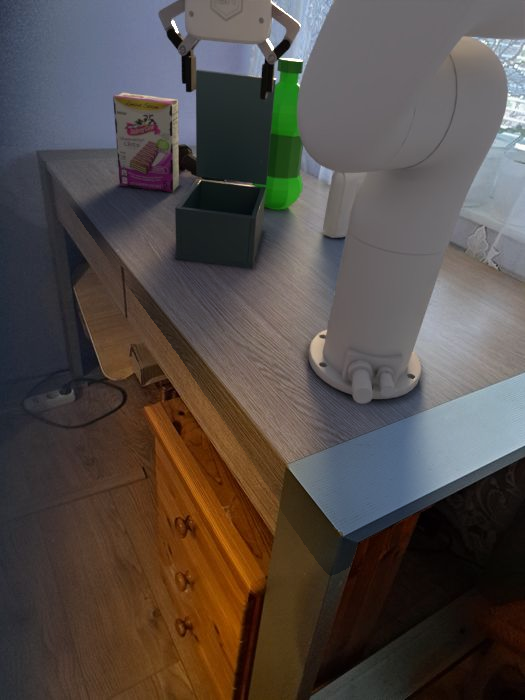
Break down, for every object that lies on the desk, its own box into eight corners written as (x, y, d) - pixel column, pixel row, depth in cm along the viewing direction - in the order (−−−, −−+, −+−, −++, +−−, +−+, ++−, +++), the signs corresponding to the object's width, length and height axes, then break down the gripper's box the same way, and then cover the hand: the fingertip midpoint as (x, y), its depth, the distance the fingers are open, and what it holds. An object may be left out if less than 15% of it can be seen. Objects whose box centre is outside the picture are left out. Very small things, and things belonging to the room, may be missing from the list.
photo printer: (360, 224, 91) (374, 156, 84) (376, 232, 89) (392, 163, 82) (318, 232, 86) (330, 160, 79) (333, 241, 84) (347, 167, 76)
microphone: (235, 203, 103) (179, 167, 113) (244, 177, 101) (187, 142, 110) (217, 200, 99) (160, 162, 109) (227, 173, 97) (168, 137, 106)
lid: (275, 79, 69) (278, 72, 74) (195, 70, 70) (203, 63, 74) (266, 185, 79) (269, 173, 83) (196, 176, 79) (203, 165, 84)
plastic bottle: (305, 215, 93) (326, 65, 78) (250, 212, 92) (261, 59, 77) (298, 198, 101) (316, 59, 86) (248, 195, 100) (258, 53, 85)
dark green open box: (252, 268, 72) (256, 218, 68) (175, 258, 73) (175, 208, 68) (262, 231, 84) (266, 187, 80) (196, 223, 85) (196, 178, 80)
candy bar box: (118, 186, 97) (111, 95, 87) (127, 179, 101) (120, 91, 91) (173, 193, 96) (172, 102, 87) (179, 186, 100) (178, 98, 91)
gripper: (146, -92, 51) (154, 91, 60) (309, -78, 50) (291, 105, 60) (164, -79, 57) (169, 85, 67) (311, -67, 56) (294, 97, 66)
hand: (227, 94), depth 63 cm, fingers open, 9 cm apart
